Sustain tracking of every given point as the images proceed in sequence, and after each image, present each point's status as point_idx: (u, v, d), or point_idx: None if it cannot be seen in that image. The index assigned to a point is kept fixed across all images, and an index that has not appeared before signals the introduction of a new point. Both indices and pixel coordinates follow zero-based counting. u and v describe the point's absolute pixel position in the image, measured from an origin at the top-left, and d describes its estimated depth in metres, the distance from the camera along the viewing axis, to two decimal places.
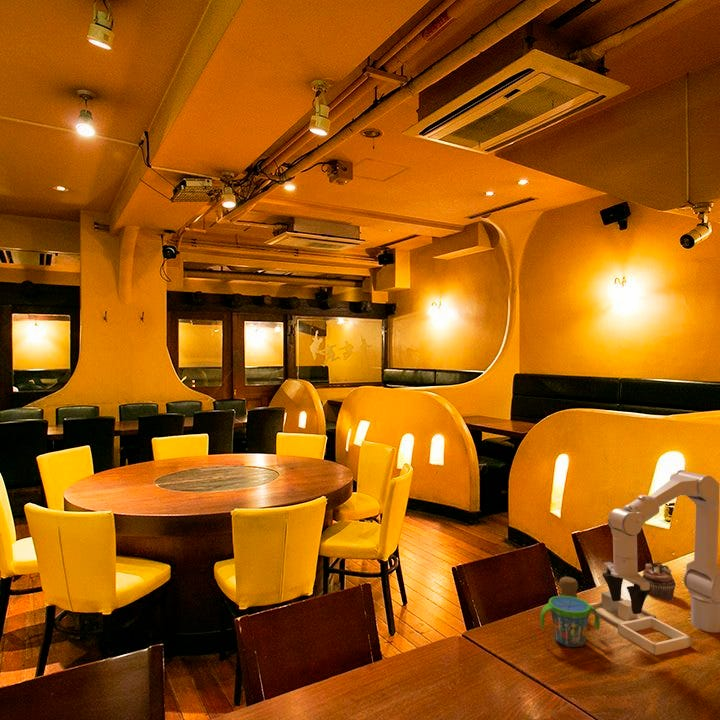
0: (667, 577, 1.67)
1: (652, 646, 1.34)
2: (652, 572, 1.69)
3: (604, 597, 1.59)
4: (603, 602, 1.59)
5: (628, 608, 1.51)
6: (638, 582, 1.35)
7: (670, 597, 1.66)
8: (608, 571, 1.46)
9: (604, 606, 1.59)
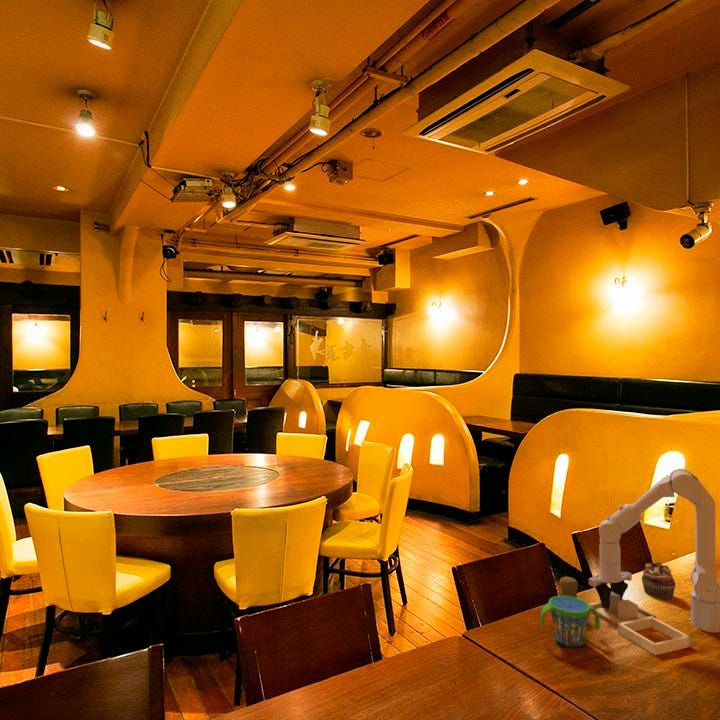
0: (667, 577, 1.67)
1: (652, 646, 1.34)
2: (652, 572, 1.69)
3: None
4: None
5: (628, 608, 1.51)
6: None
7: (670, 597, 1.66)
8: None
9: None
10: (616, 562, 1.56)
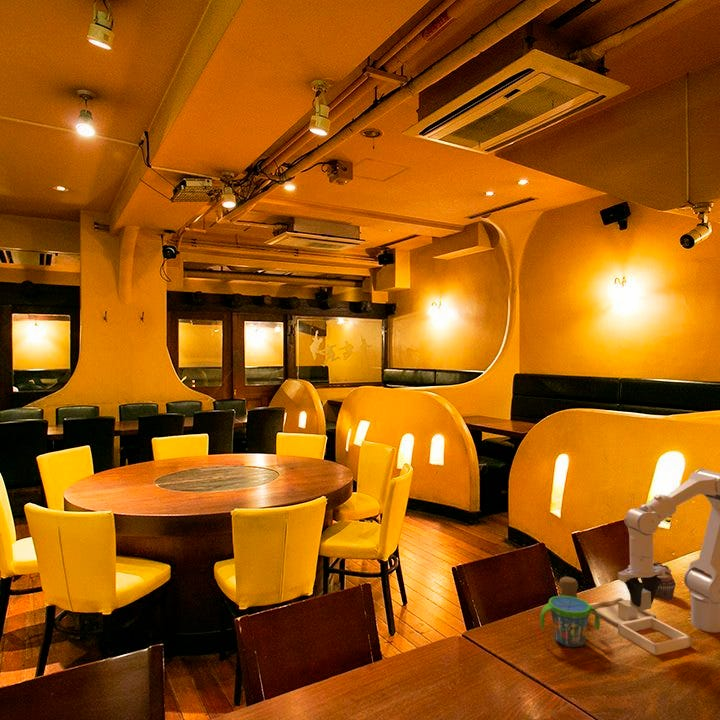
0: (667, 577, 1.67)
1: (652, 646, 1.34)
2: None
3: None
4: None
5: (628, 608, 1.51)
6: None
7: (670, 597, 1.66)
8: None
9: None
10: (652, 553, 1.43)
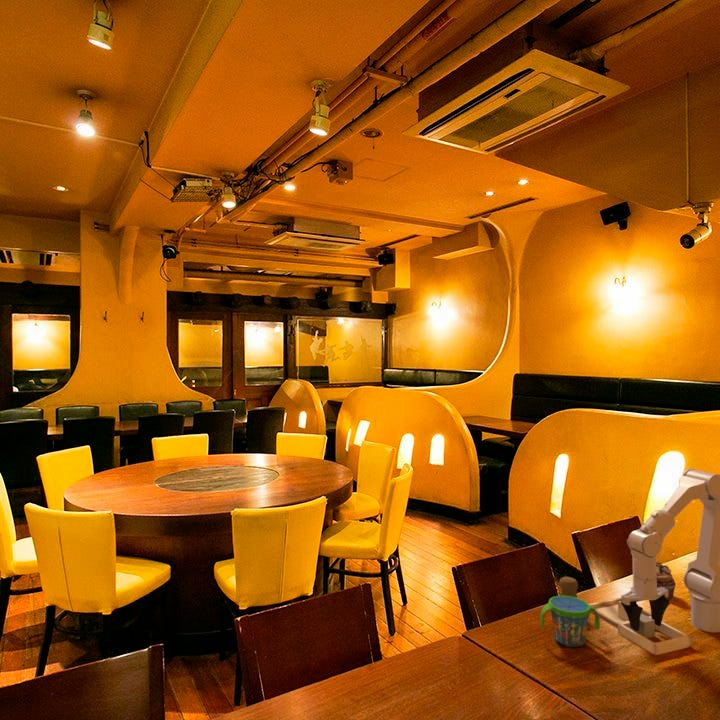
0: (667, 577, 1.67)
1: (652, 646, 1.34)
2: None
3: None
4: None
5: None
6: None
7: (670, 597, 1.66)
8: None
9: (637, 631, 1.44)
10: (656, 576, 1.42)
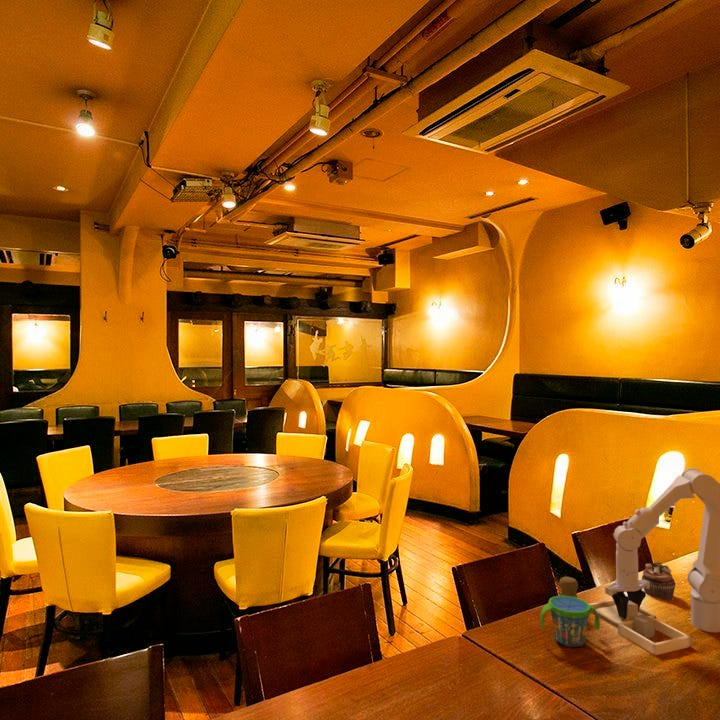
0: (667, 577, 1.67)
1: (652, 646, 1.34)
2: (652, 572, 1.69)
3: (637, 622, 1.44)
4: (635, 627, 1.44)
5: (628, 608, 1.51)
6: None
7: (670, 597, 1.66)
8: None
9: (637, 631, 1.44)
10: (635, 569, 1.50)
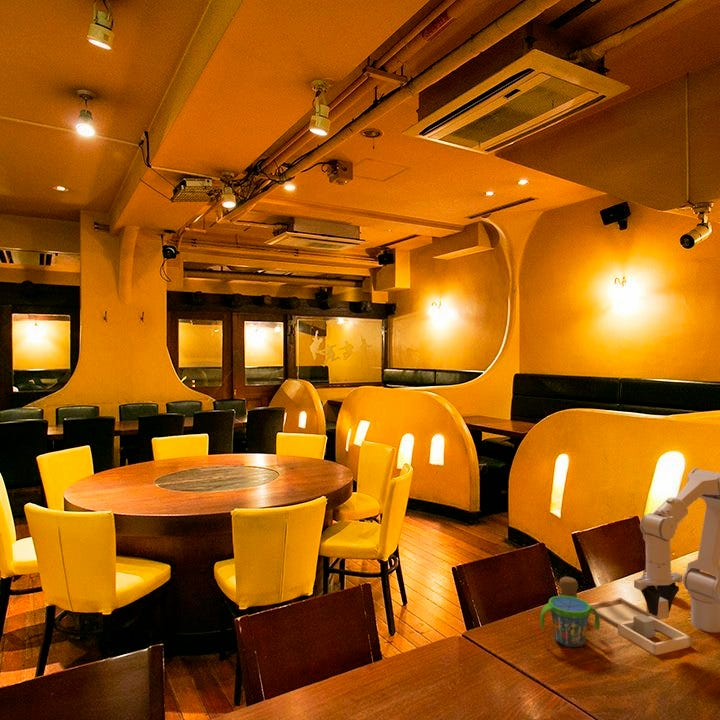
0: None
1: (652, 646, 1.34)
2: None
3: (637, 622, 1.44)
4: (635, 627, 1.44)
5: (658, 604, 1.38)
6: None
7: None
8: None
9: (637, 631, 1.44)
10: None
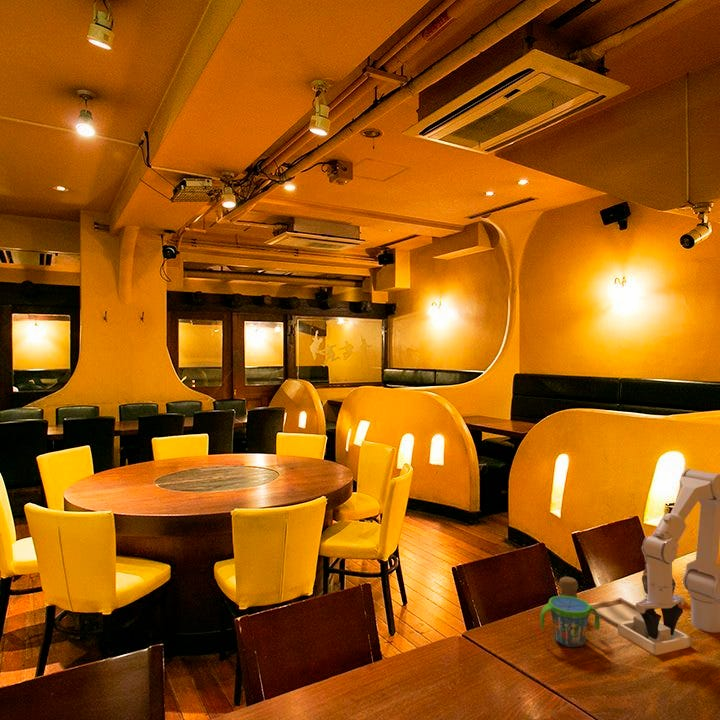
0: None
1: (652, 646, 1.34)
2: None
3: (637, 622, 1.44)
4: (635, 627, 1.44)
5: (660, 633, 1.37)
6: None
7: None
8: None
9: (637, 631, 1.44)
10: None
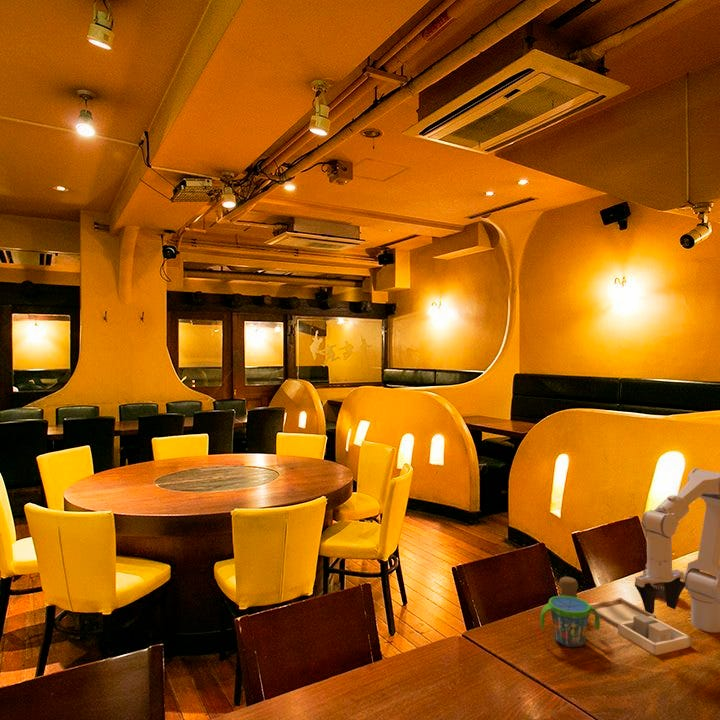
0: None
1: (652, 646, 1.34)
2: None
3: (637, 622, 1.44)
4: (635, 627, 1.44)
5: (660, 632, 1.37)
6: None
7: None
8: None
9: (637, 631, 1.44)
10: (671, 556, 1.38)
